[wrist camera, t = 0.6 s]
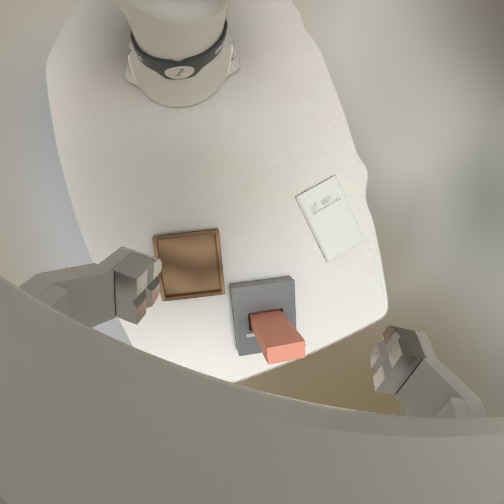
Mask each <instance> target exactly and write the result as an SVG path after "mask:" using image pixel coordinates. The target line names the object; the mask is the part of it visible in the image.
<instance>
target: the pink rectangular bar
mask: <svg viewBox="0 0 504 504" xmlns="http://www.w3.org/2000/svg"><path fill="white" fill-rule="evenodd" d="M248 319H249V324H250V326H251V328H252V331H253V333H254V335H255V337H256V339H257V342H258V344H259V346H260V348H261V350H262V353H263V355H264V357H265V359H266V361H267V363H268V364H274V363H279V362H284V361H289V360H294V359H299V358H304V357H305V340H304V339H303V338H302V336H301V335H300V334H299V333H298V331H297V330H296V329H295V328H294V326H293V325H292V324H291V322H290V321H289V320H288V319H287V317H286V316H285V315H284V314H283V312H282V311H281V310H280V309H274V310H268V311H261V312H254V313H248Z"/></svg>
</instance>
